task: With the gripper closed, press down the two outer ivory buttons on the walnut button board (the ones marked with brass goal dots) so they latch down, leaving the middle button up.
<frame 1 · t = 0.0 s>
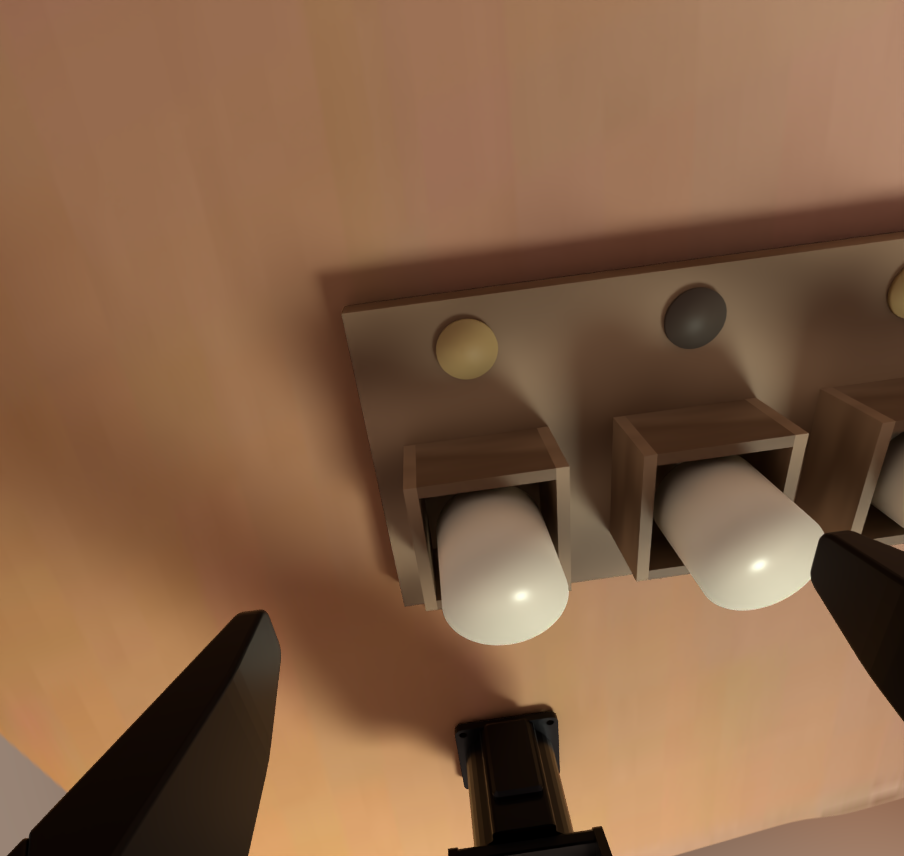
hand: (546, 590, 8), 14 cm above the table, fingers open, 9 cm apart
button a: (496, 560, 20), point 5 cm above the table, slide at 0.0 cm
button b: (730, 527, 20), point 6 cm above the table, slide at 0.0 cm
board: (669, 427, 24), on the table
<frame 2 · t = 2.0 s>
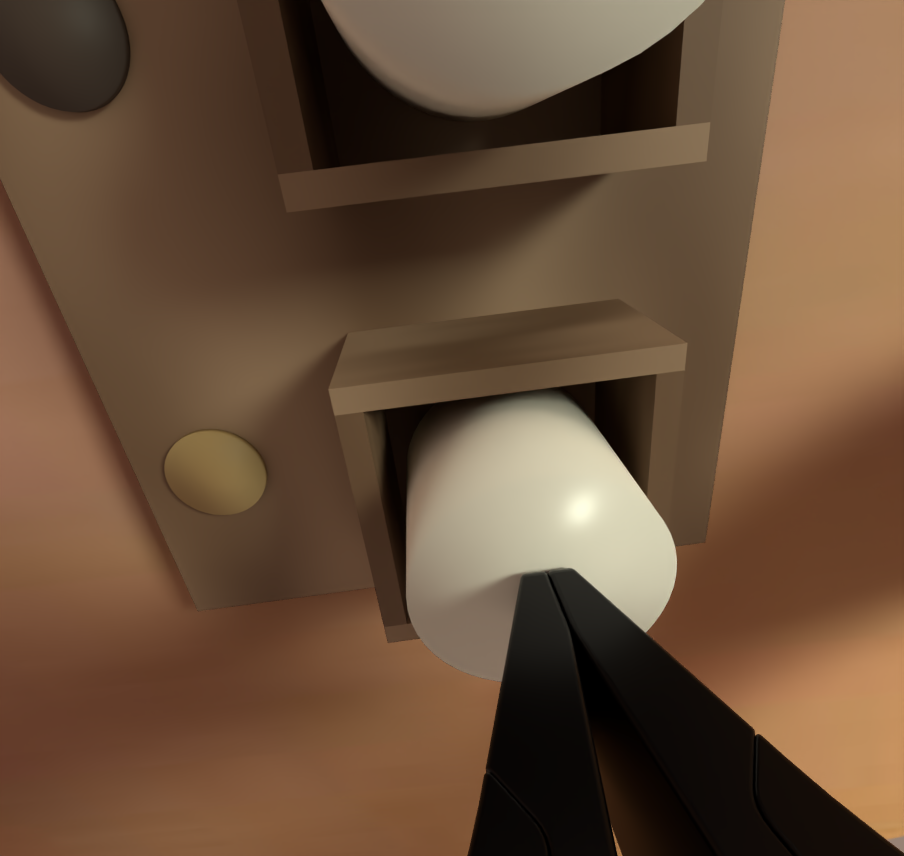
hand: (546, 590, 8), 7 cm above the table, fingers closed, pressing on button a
button a: (519, 516, 10), point 5 cm above the table, slide at 0.9 cm, touching gripper
board: (376, 12, 10), on the table
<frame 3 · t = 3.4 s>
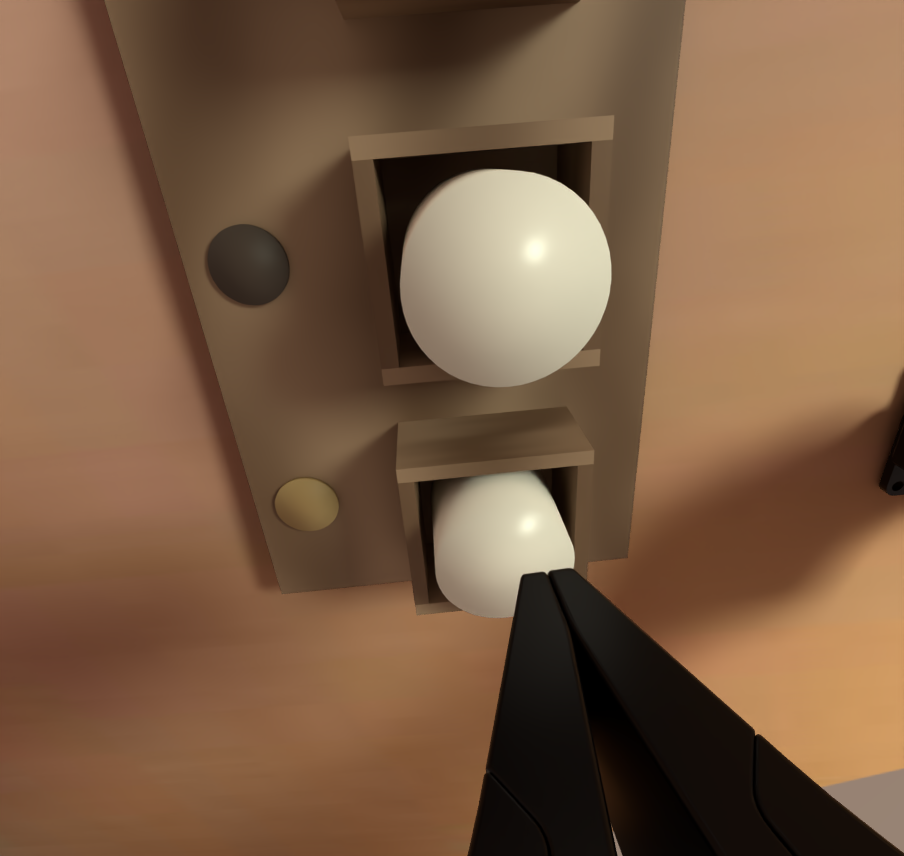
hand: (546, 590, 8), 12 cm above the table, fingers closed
button a: (496, 527, 18), point 4 cm above the table, slide at 1.6 cm
button b: (493, 271, 13), point 5 cm above the table, slide at 0.0 cm
board: (425, 244, 17), on the table
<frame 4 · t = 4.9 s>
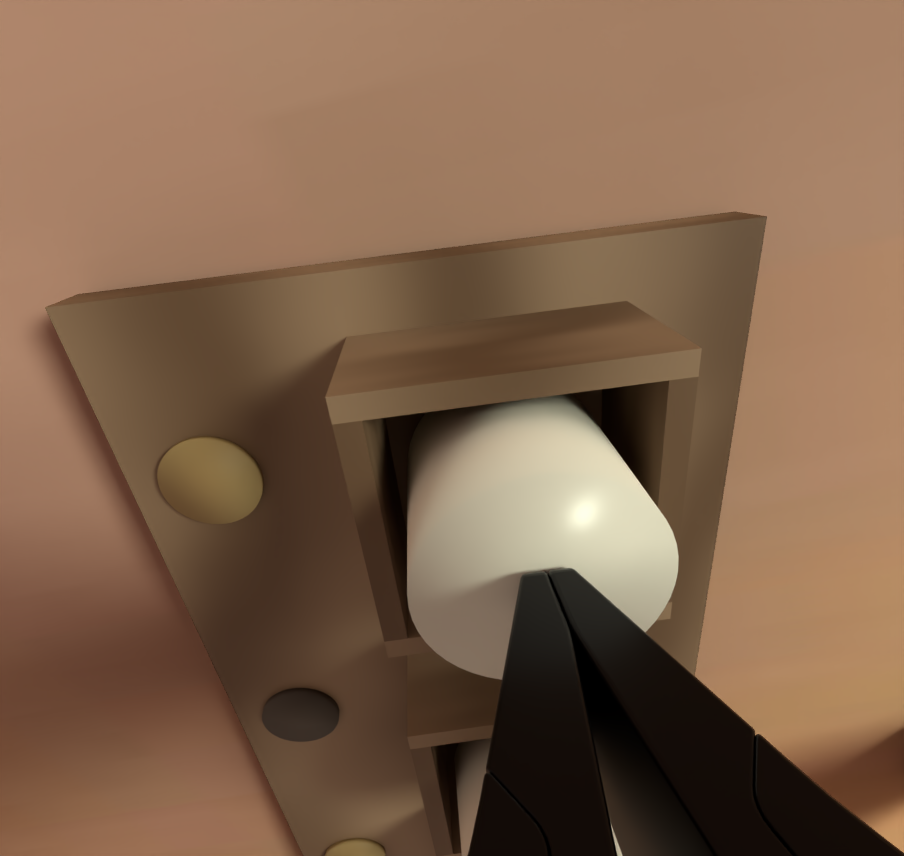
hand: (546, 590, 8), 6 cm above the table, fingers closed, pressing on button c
button c: (520, 514, 10), point 4 cm above the table, slide at 1.3 cm, touching gripper
button b: (547, 833, 13), point 5 cm above the table, slide at 0.0 cm
board: (466, 657, 18), on the table
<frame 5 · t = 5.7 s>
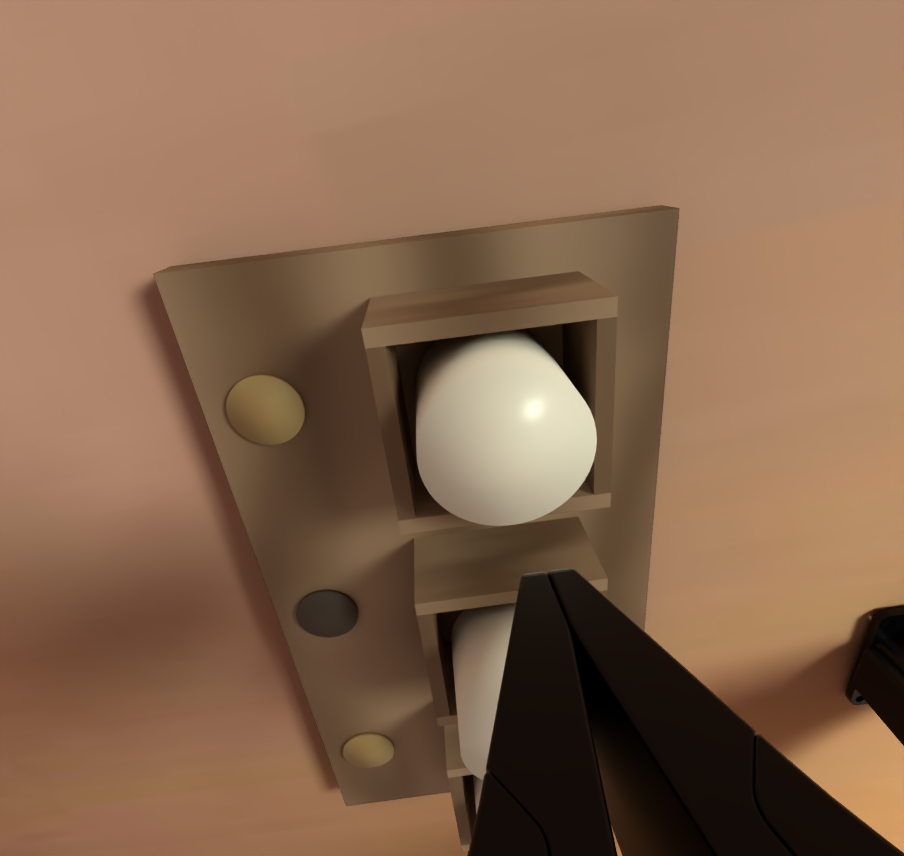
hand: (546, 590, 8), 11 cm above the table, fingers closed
button a: (524, 787, 23), point 4 cm above the table, slide at 1.6 cm
button c: (495, 417, 14), point 4 cm above the table, slide at 1.6 cm
button b: (522, 683, 17), point 5 cm above the table, slide at 0.0 cm
board: (461, 572, 22), on the table
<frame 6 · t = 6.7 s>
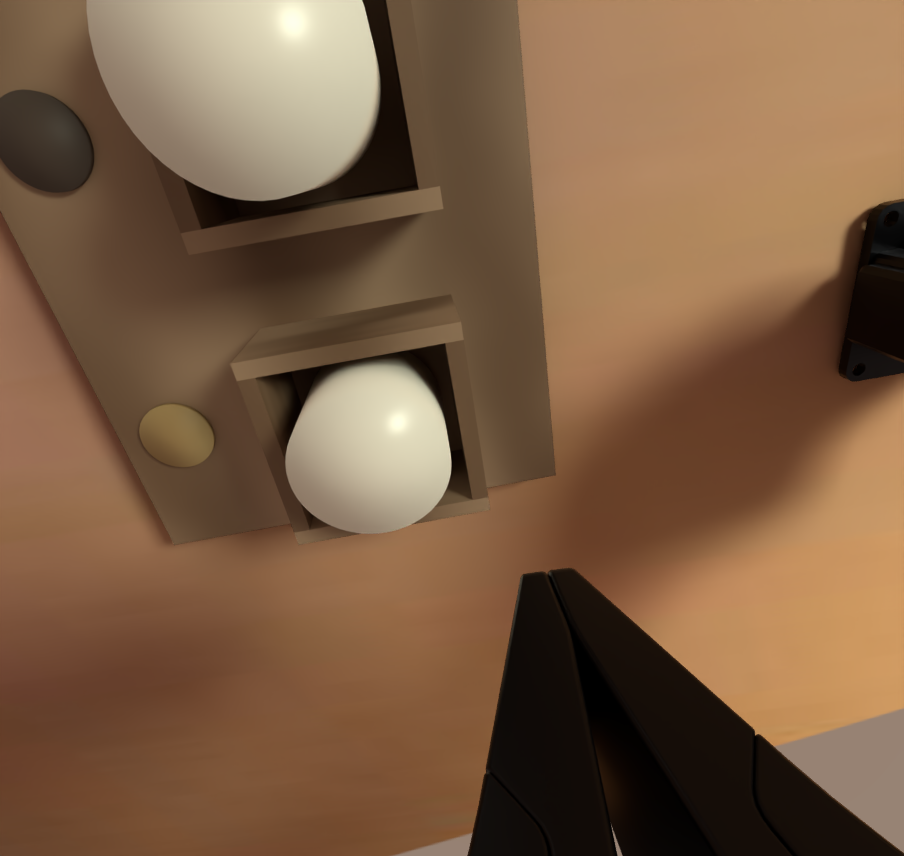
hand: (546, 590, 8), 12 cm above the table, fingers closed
button a: (373, 433, 16), point 4 cm above the table, slide at 1.6 cm
button b: (264, 71, 10), point 5 cm above the table, slide at 0.0 cm
board: (258, 110, 15), on the table
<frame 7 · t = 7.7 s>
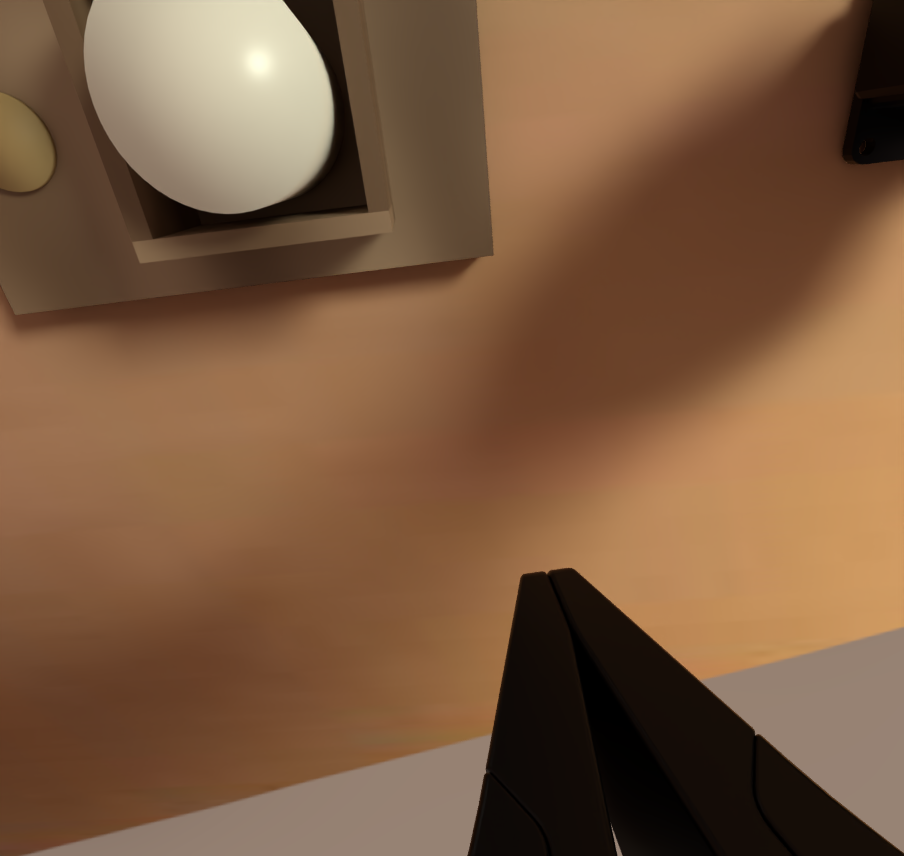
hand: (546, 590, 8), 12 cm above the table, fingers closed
button a: (236, 102, 12), point 4 cm above the table, slide at 1.6 cm
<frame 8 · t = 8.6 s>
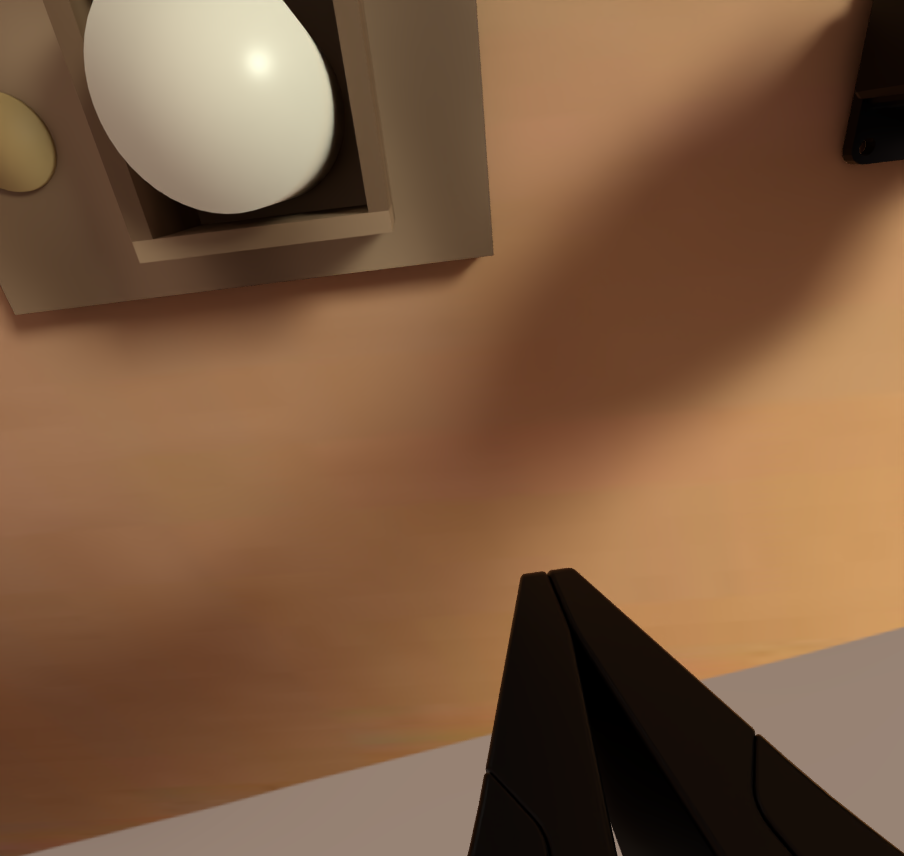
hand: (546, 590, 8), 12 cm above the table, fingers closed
button a: (236, 102, 12), point 4 cm above the table, slide at 1.6 cm
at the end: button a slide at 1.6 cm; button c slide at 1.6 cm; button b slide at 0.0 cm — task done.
